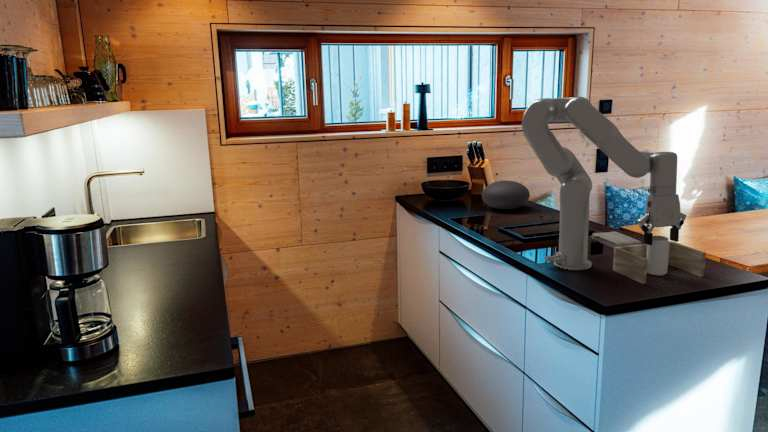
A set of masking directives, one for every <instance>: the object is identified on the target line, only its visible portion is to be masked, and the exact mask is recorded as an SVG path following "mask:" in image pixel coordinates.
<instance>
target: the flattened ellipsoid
mask: <svg viewBox="0 0 768 432" xmlns="http://www.w3.org/2000/svg"><path fill="white" fill-rule="evenodd" d="M530 196H531V194H530V191H529V189H528V188H527V187H526V186H525V185H524V184H523V183H520V182H518V181H514V180H505V179H504V180H497V181H494V182H492V183H490V184H488V185H487V186H486V187H484V189H483V190H482V192H481V198H482V199H481V200H482V201H483V202H484V203H485V204H486V205H488V206H489V207H490V208H491V207H492V208H494V209H497V210H501V209H510V210H515V209H518V208H520V207H523V206H524V205H525V204H527V203H528V202H529V200H530Z"/></svg>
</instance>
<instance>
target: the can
mask: <svg viewBox="0 0 768 432" xmlns="http://www.w3.org/2000/svg"><path fill="white" fill-rule="evenodd" d="M669 241H670V240H669V237H667V236H664V235H663V236H662V235H653V239H652V245H648V244H647V255H646V259H648V261H647V274H648V275H652V276H658V277H660V276H665V275H667V274H668V269H669V268H668V266H669V265H668V256H669Z"/></svg>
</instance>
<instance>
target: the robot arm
mask: <svg viewBox="0 0 768 432" xmlns="http://www.w3.org/2000/svg"><path fill="white" fill-rule="evenodd" d="M549 123H570V124H571V125H573V126H574V127H575V128H576V129H577V130H579V132H581V133H582V134H583V135H584V136H585V137H586V138H587V139H588V140H590V142H591V143H592V144H594V145H595V146H596V147H597V149H598V150H600V151H601V152H602V153H603V154H604V155H605V156H607V157H608V159H609V160H610V161H611V162H612V163H614V164H615V165H616V166H617V167H619V169H621V170H622V172H624V173H625V174H626V175H628V176H629V177H631V178H634V179H639V178H643V177H645V176H646V175H647V174H650V177H649V178H650V180H649V188H648V189H646V190H647V193H648V194H649V195H647V200H646V205H645V214H644V215H643V216H641V217H639V218H638V219H637V221H636V222H637V224H638V226H639V227H638V228H639V229H641V231H642V233H643V244H648V245H652V239H653V236H654V234H653V232H652V231H653V230H655V228H666V227H670V228H669V241H673V242H676V243H678V242H679V240H680V239H679V238H680V237H679V236H680V235H679V234H680V230H681V229H682V226H683V225H684V224H685V220H686V218H687V214H685V213H683V212H682V211H681V202H680V201H681V200H680V197H679V194H677V178H678V177H677V176H678V172H677V171H678V154H677V153H675V152H673V151H657V152H652V151H651V152H650V151H639V150H638V149H637V148H636V147H635V146H634V145H633V144H632V143H630V142H629V141H628V140H627V139H626V138H625V137H624V135H623V134H622V133H621V131H620V130H619V128H618V127H617V126H616V125H615V124H614V123H613V122H612V121H611V120H610V119H609V118H607V116H606V115H604V114H603V113H602V112H600V110H598V109H597V108H596V107H595V106H594V105H593V104H592V103H591V101H590V100H589V99H588V98H587V97H583V96H574V97H554V98H553V97H550V98H549V97H547V98H546V97H545V98H538V99H535V100H534V101H532V102H531V103H529V105H528V106H527V108H526V109H525V111H524V112H523V115H522V120H521V128H522V129H521V130H522V133H523V136H524V138H525V140H526V141H527V143H528V144H529V146H530V148H531V149H532V150H533V152H534V154H535V155H536V157H537V159H538V160H539V162H540V163H541V165H542V167H543V168H544V169H545V171H546V172H547V174H549V175H550V176H551V177H555V178H556V179H557V181H558V182H559V183H560V188H559V236H558V251H556V252H555V254H553V255H547V256H545V262H547V263H549V262H553V265H554V266H555V267H556V266H557V268H558V267H560V268H559V269H562V268H563V269H562V270H566V269H568V270H567V271H584V270H589V269H591V267H592V265H593V262H592V261H590V260H589V259H588V252H589V251H588V249H589V248H588V245H589V227H590V223H589V221H590V196H591V193H592V189H593V182H592V179H591V177H590V176H589V174H588V173H587V171H586V169H585V168H584V167H583V165H582V164H581V162H580V161H579V159H578V158H577V156H575V155H576V154H574V153H573V151H572V150H570V149H569V148H567V147H565V146H564V147H563V146H562V145H561V143H560V142H559V140H558V139H557V138H556V135H555V134H554V133H553V131H551V129H550V127H549Z"/></svg>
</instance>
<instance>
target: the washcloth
mask: <svg viewBox="0 0 768 432" xmlns="http://www.w3.org/2000/svg"><path fill="white" fill-rule="evenodd" d="M591 239H592V240H594V239H595V240H594V241H596V240H597V241H596V242H598V241H599V243H601V244H603V245H605V244H606V246H608V247H611V248H613V249H614V247H620V246H630V245H640V244H643V243H642V242H641V240H638V239H636V238H633V237H631V236H628V235H626V234H623V233H621V232H619V231H609V232H593V233H592V234H591Z"/></svg>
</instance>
